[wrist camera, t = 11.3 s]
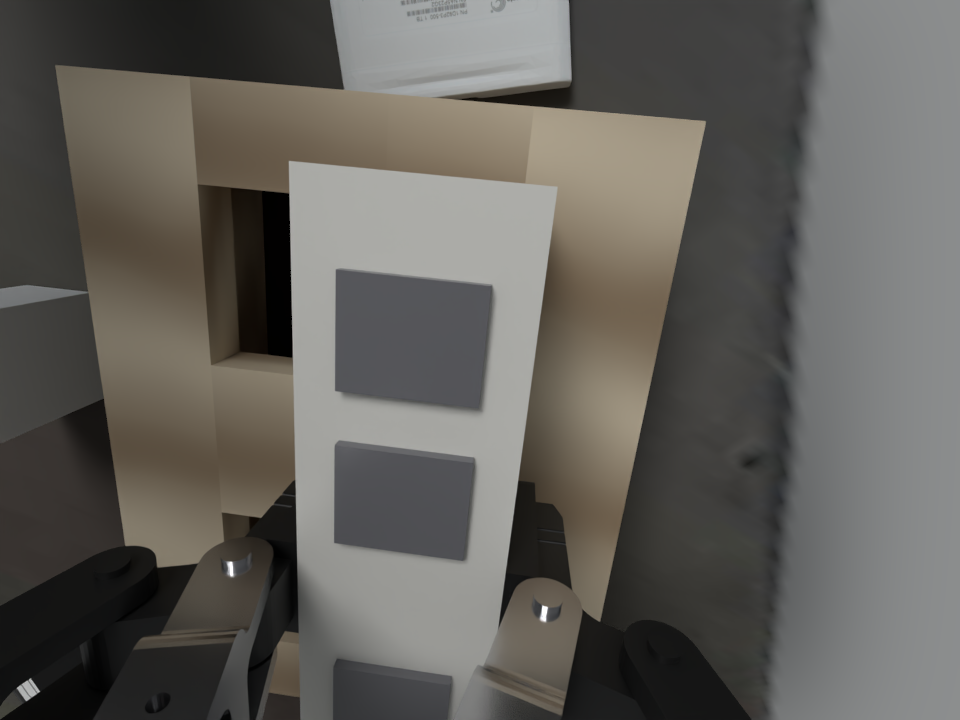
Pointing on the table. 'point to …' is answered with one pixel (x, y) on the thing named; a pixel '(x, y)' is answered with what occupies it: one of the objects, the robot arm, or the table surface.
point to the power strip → (407, 426)
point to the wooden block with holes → (242, 290)
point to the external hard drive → (453, 46)
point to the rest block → (45, 357)
